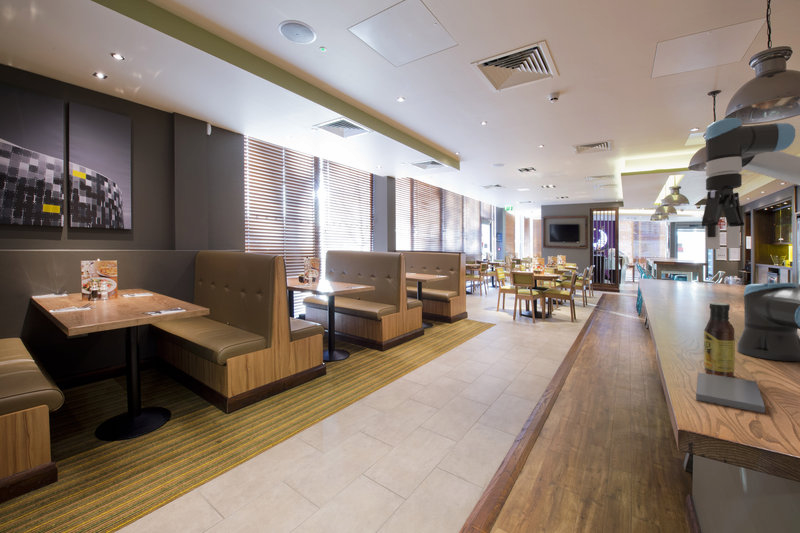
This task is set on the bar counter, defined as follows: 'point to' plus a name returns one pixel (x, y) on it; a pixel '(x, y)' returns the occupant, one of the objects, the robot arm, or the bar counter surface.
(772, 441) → the bar counter surface
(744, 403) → the gray rectangular mat
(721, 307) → the sauce bottle
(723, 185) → the robot arm
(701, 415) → the bar counter surface
